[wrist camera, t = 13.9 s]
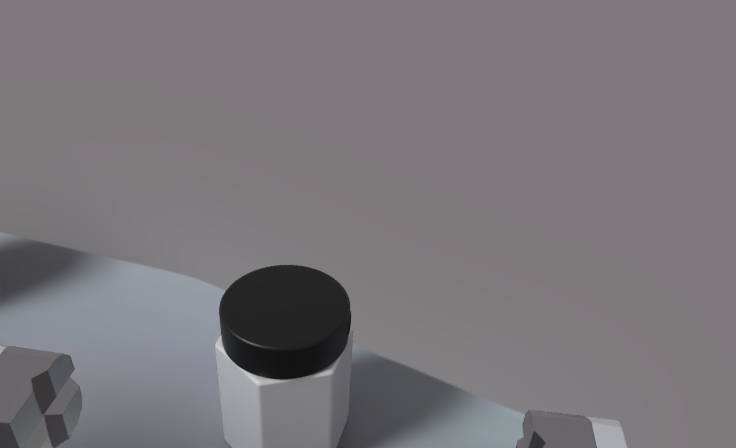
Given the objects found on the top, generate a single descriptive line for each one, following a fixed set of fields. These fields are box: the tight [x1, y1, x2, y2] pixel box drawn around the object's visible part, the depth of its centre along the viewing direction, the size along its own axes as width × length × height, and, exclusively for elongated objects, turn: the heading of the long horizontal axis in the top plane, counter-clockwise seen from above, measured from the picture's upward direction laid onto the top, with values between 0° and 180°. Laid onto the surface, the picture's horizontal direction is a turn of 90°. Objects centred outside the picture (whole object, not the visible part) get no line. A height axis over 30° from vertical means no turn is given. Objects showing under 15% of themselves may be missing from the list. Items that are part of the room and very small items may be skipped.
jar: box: [215, 265, 353, 448], centre depth 43 cm, size 9×8×12 cm
